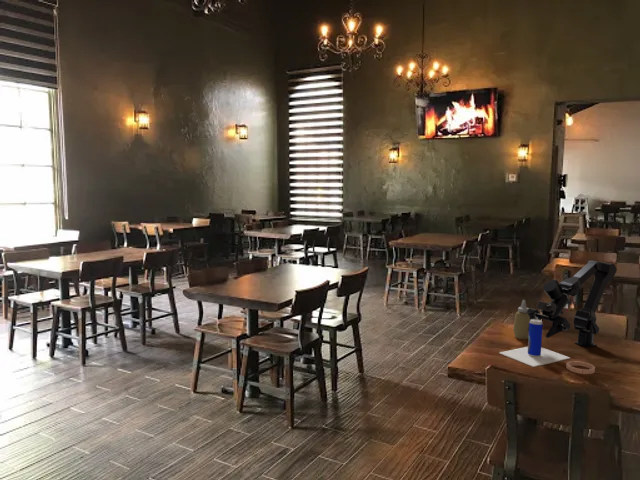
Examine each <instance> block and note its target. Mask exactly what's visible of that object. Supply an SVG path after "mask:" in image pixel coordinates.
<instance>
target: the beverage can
mask: <svg viewBox="0 0 640 480" xmlns="http://www.w3.org/2000/svg"><path fill="white" fill-rule="evenodd" d="M543 325H544V323H543V321H542V319H541V320H538V319H531V320H530V322H529V338H528V339H527V340H528V341H527V342H528V343H527V347H528V354H529V355H530V356H533V357H539V356H540V355H541V347H542V342H543V341H542V338H543Z"/></svg>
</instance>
